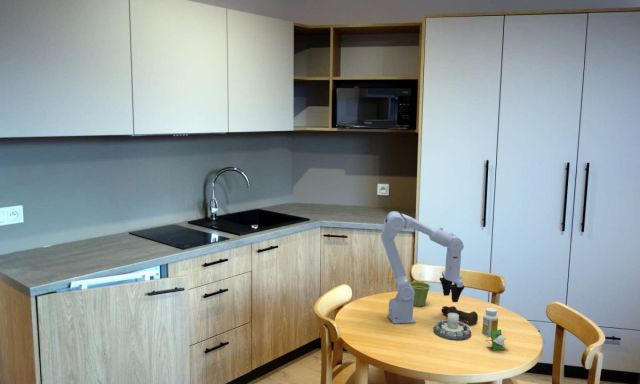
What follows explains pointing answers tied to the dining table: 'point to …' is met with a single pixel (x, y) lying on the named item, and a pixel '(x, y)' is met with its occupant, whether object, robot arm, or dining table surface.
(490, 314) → the supplement bottle
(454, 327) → the planet gear
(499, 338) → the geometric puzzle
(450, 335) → the carrier
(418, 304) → the plant pot
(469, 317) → the bolt
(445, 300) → the dining table surface
